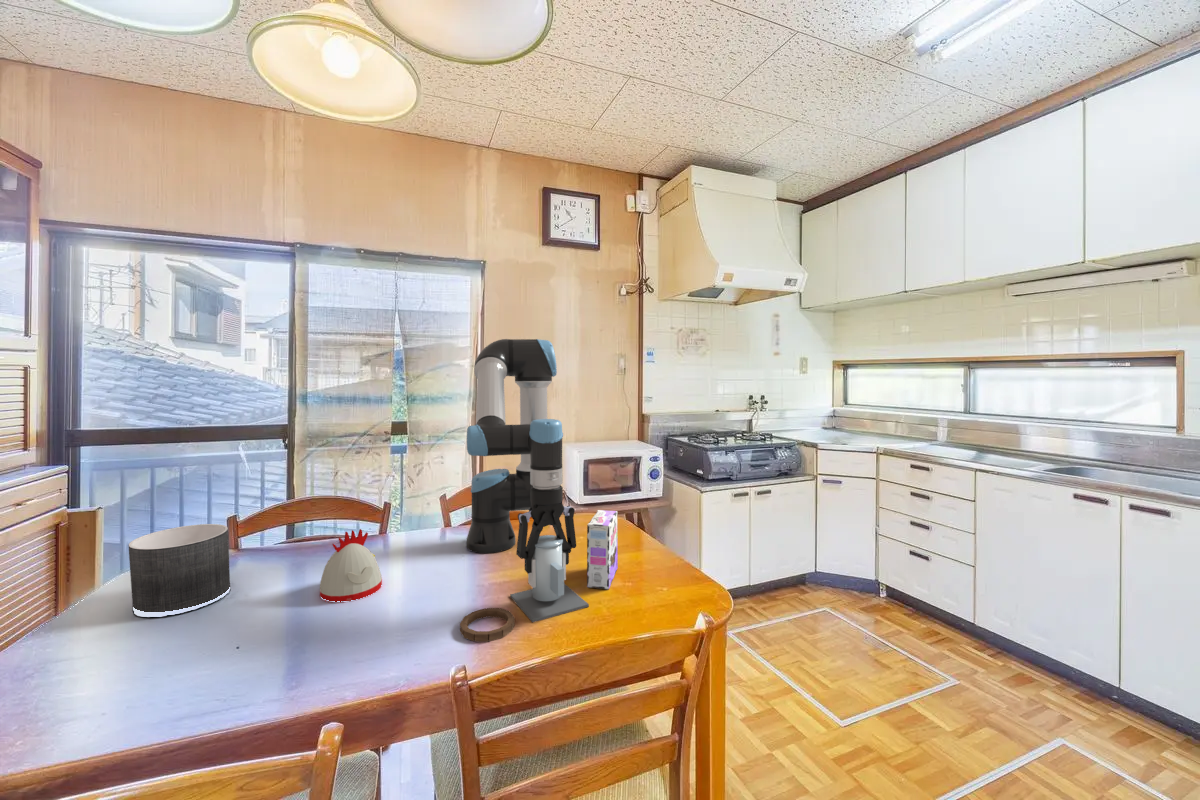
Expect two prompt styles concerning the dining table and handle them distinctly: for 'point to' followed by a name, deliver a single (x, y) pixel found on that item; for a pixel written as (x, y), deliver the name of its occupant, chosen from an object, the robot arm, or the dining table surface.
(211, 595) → the planter
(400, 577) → the dining table surface
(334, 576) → the white chicken figure
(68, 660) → the dining table surface
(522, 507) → the robot arm
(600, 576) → the candy box
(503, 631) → the brown segmented ring
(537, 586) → the white cylindrical canister
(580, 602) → the mat
